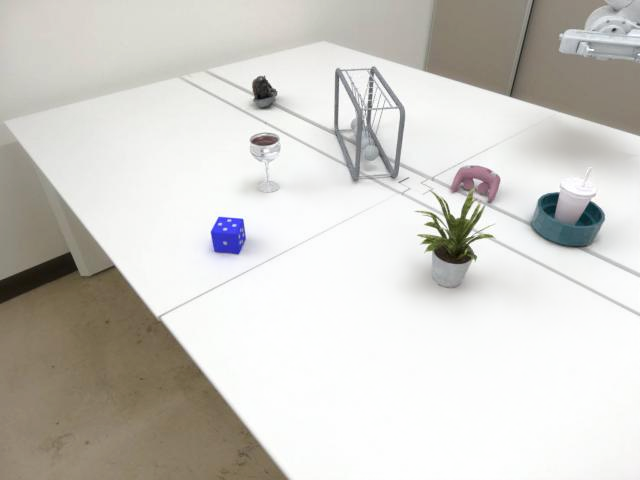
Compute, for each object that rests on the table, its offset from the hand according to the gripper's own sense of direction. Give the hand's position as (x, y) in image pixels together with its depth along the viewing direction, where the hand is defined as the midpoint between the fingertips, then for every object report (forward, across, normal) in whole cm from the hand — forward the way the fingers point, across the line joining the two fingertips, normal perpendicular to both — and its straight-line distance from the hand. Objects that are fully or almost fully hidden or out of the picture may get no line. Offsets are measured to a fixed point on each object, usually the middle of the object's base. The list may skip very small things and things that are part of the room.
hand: (614, 56), depth 93 cm
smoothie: (+24, -2, +27) cm, 37 cm away
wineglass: (+32, -65, +28) cm, 78 cm away
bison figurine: (-12, -88, +28) cm, 93 cm away
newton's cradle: (+8, -50, +28) cm, 57 cm away
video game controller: (+17, -20, +28) cm, 38 cm away
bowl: (+25, -2, +28) cm, 37 cm away
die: (+54, -62, +28) cm, 87 cm away
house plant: (+46, -22, +28) cm, 58 cm away
